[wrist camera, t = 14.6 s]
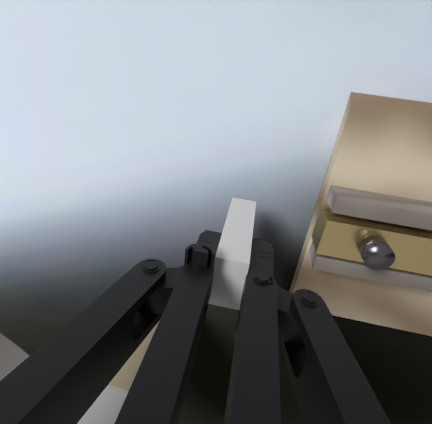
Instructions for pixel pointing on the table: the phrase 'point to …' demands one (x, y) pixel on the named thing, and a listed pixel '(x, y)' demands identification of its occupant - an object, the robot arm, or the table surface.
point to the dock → (376, 211)
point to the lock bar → (373, 242)
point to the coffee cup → (117, 389)
